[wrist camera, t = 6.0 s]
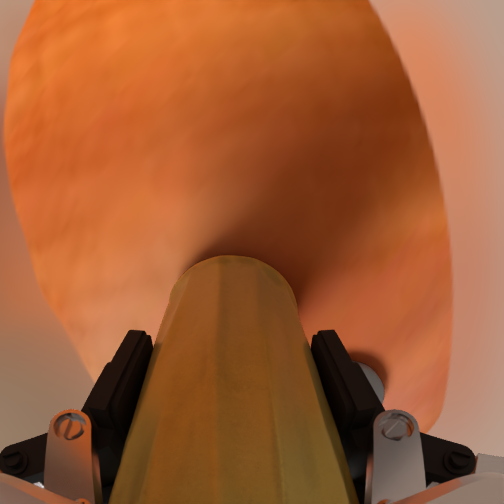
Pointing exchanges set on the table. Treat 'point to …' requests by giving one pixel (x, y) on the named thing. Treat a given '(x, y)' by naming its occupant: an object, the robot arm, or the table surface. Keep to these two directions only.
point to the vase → (232, 400)
